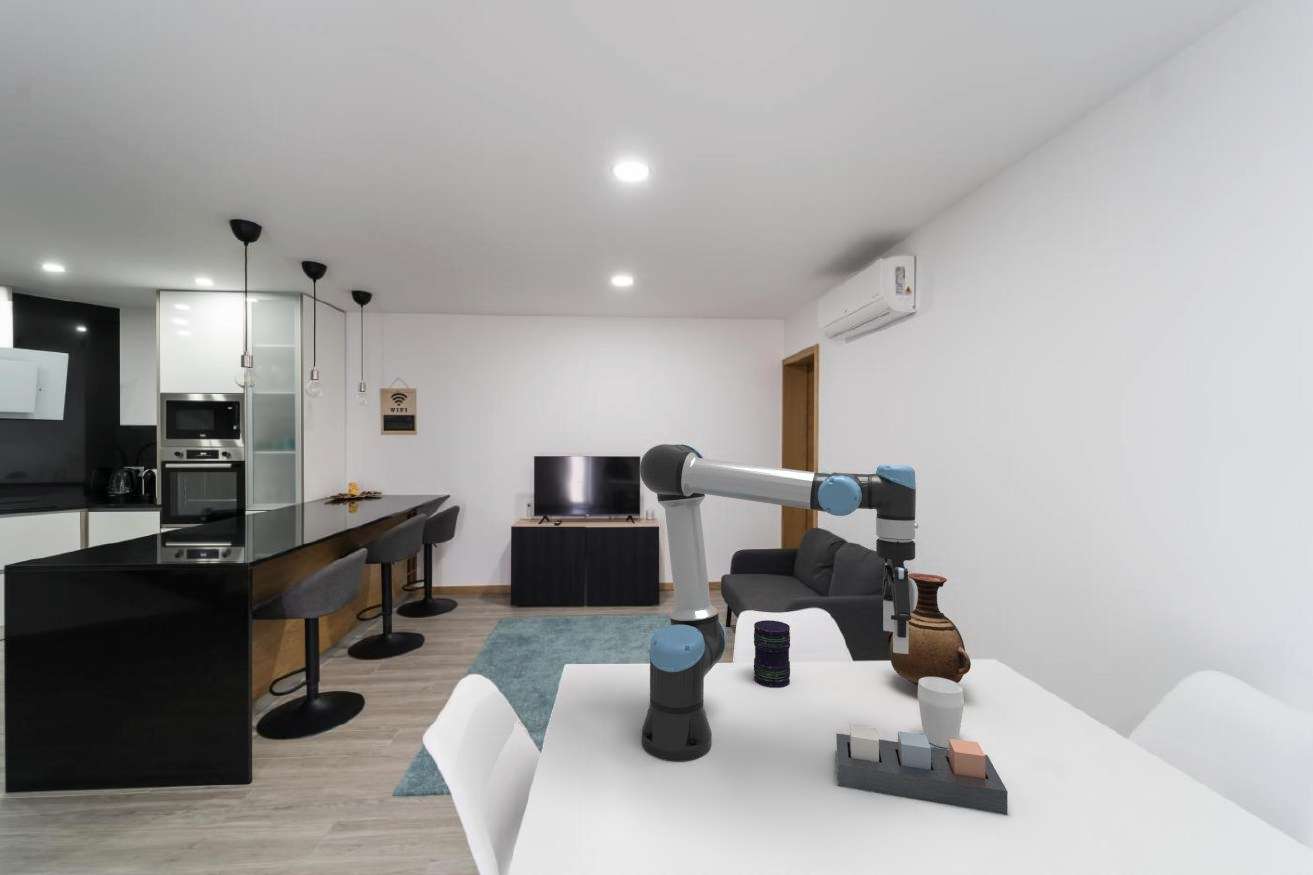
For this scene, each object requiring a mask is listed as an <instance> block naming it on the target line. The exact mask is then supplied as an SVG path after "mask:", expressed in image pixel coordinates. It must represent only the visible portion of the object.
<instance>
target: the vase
mask: <svg viewBox="0 0 1313 875" xmlns="http://www.w3.org/2000/svg"><path fill="white" fill-rule="evenodd" d="M908 579H911V580H913V581H914V583H915V584H916V588H917V601H916V606H915V609H914V610H912V611H910V613H911V620H909V648H908V654H902V653H894V652H893V632H891V631H889V633H888V634H887V637H886V638H887V639H886V640H887V641H886V642H887V644H888V647H889V659H890V664H891V667H892V668H893V670H894V671H895V673H896V674H897V675H898V676H900V677H901V678H903V679H904V680H906V681H907V682H910V683H911V684H913V685H915V686H916V687H918V681H919V679H920V678H923V677H939V678H944V679H948V680H951V681H954V682H956V683H958V684H959V683H960V682H961V680H962V679H963V677H964V676H965V675H966V674H968V673H969V672H970V670H971V664H972V663H971V659H970V657H969V655H968V653H967V652H966V648H965V643H964V640H963V637H962V635H961V632H960V630H959V629H958V627H957V626H956V625H955V623H954V622H953V621H952V620H951V619H949V618H948V616H945V614H944V613H943V612H941V610H940V608H939V606H938V605H939V604H938V590H939V588H943V587H944V584H945V583H946V582H947V581H948V580H947V578H946V577H944V576H941V575H936V574H935V575H934V574H926V573H917V572H916V573H914V572H913V573H908Z"/></svg>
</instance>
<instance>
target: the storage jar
mask: <svg viewBox="0 0 1313 875" xmlns="http://www.w3.org/2000/svg"><path fill="white" fill-rule="evenodd" d="M753 625H754V626H753V627H754V628H753V629H754V630H753V631H754V632H753V645H754V658H753V674H754V676H753V681H754V682H755V683H756V684H757V685H759V686H762V687H765V688H771V689H780V688H785V687H788V686H789V685H790V683H791V682H790V681H791V679H790V676H791V675H790V674H791V662H790V648H791V633H790V631H791V630H790V629H791V626H790V625H789V624H788V623H785V622H783V621H778V620H772V619H771V620H770V619H766V620H759V621H756V622H754V624H753Z"/></svg>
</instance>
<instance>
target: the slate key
mask: <svg viewBox="0 0 1313 875" xmlns="http://www.w3.org/2000/svg"><path fill="white" fill-rule="evenodd" d="M897 742H898V758H899V762H900V766H906V767H912V768H919V769H925V770H931V748H930V747H931V745H930V743H929V742H928V740H927V737H926V735H924V734H923V733H922V734H921V733H915V732H907V731H906V732H905V731H901V730H900V731H899V730H898V731H897Z"/></svg>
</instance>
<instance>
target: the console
mask: <svg viewBox="0 0 1313 875" xmlns="http://www.w3.org/2000/svg"><path fill="white" fill-rule="evenodd" d="M835 734H836V737H835V738H836V740H835V741H836V750H835V751H836V768H837V785H838V787H842V788H848V789H849V788H850V789H853V790H854V789H855V790H859V791H866V792H872V793H878V794H884V795H890V796H896V797H902V798H907V799H908V798H909V799H913V800H918V801H920V800H921V801H926V802H932V803H938V804H943V805H949V806H953V807H954V806H956V807H960V808H967V809H973V810H979V811H984V812H990V813H995V814H1001V815H1002V814H1003V815H1009V814H1008V808H1009V807H1008V806H1009V805H1008V803H1009V802H1008V789H1007V788H1006V785H1005V784H1004V783H1003V780H1002V778H1000V775H999V773H998V772H997V770H996V768H995V767H994V764H993V763H992V761H991V759H990V757H989V756H988V754H984V755H985V779H983V778H977V777H970V776H964V775H957V774H952V771H951V769H950V766H949V748H943V747H937V746H936V747H934V746H930V748H931V770H925V769H919V768H912V767H906V766H900V762H899V758H898V741H893V740H887V739H879V738H878V739H879V762H874V761H867V760H861V759H854V758H851V756H850V734H845V733H844V734H843V733H835Z"/></svg>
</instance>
